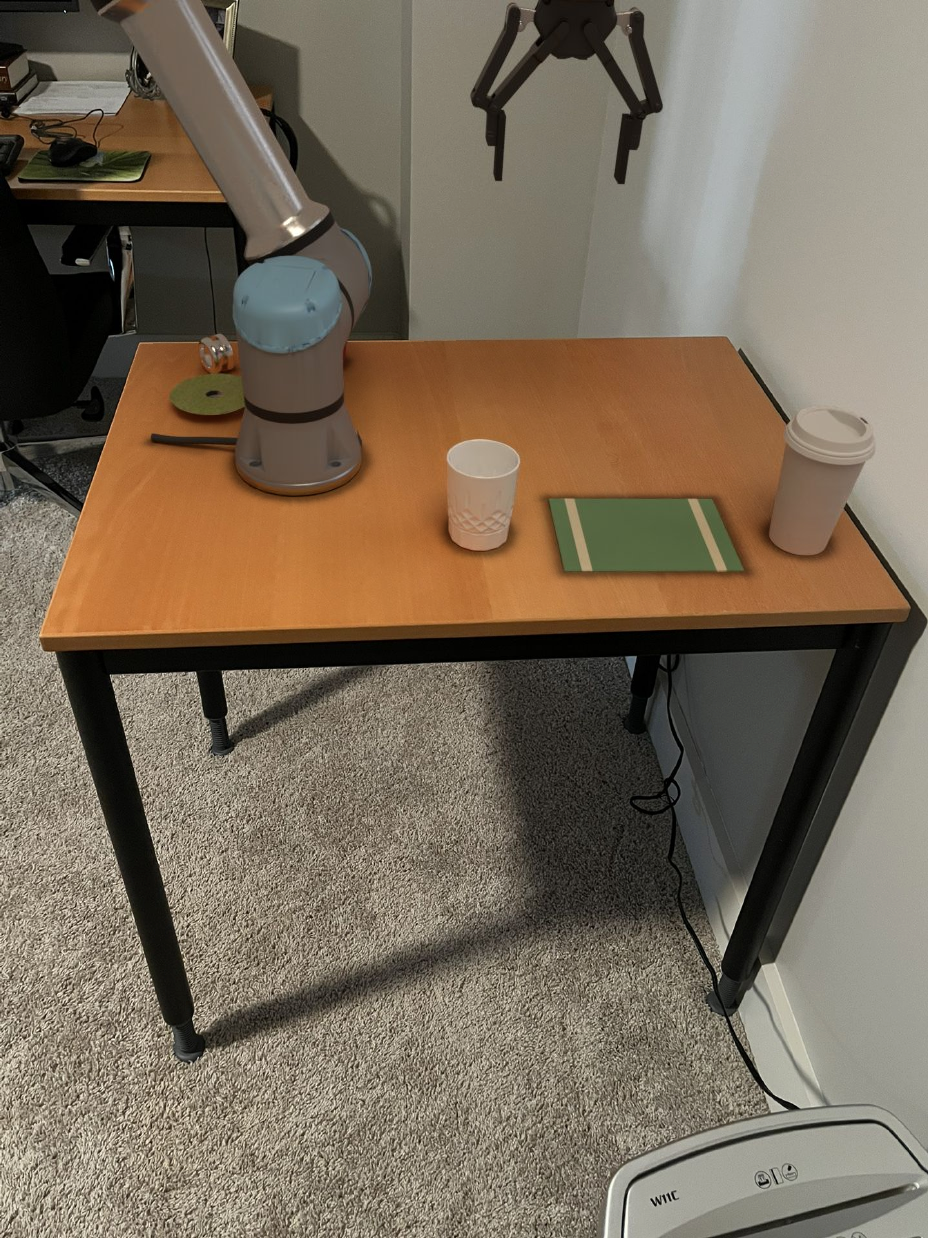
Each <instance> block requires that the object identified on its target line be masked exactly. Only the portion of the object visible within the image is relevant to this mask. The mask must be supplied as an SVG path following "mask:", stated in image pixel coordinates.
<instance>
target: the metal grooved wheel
mask: <svg viewBox="0 0 928 1238" xmlns="http://www.w3.org/2000/svg"><path fill="white" fill-rule="evenodd" d="M197 351H198V357H199V359H200V362H201V364H202V366H203V367H204V369H205V370H206V371H207V372H208V373H209V374H214V373H217V374H220V373H221V371H222V372H227V371H229V370H230V371H231V370H232V369H233V368H234V367H235V355H234V352H233V348H232V346H231V344H230V342H229V340H228V339H227V338H226V337H225V335H223V334H222V333H215V334H213V335H211V336H210V337H208V336H206V337H203V338H201V339H200V340H199V341H198V346H197Z"/></svg>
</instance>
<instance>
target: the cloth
mask: <svg viewBox="0 0 928 1238" xmlns="http://www.w3.org/2000/svg"><path fill="white" fill-rule="evenodd" d="M548 504H549V510H550V513H551V518H552V521H553V522H552V523H553V527H554V532H555V537H556V541H557V545H558V549H559V554H560V559H561V563H562V568H563V572H564V573H675V572H676V573H698V572H699V573H705V572H706V573H712V572H713V573H715V572H716V573H717V572H719V573H723V572H724V573H725V572H726V573H727V572H729V573H730V572H732V573H733V572H734V573H736V572H737V573H739V572H742V573H743V572H744V571H745V570H744V567H743V564H742V562H741V560H740V558H739V555H738V554H737V551H736V549H735V547H734V544H733V542H732V540H731V537H730V535H729V533H728V531H727V529H726V526H725V525H724V522H723V520H722V517H721V515H720V513H719V510H718V509H717V506H716V504H715V501H714V499H713V498H548Z"/></svg>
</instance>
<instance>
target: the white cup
mask: <svg viewBox="0 0 928 1238" xmlns="http://www.w3.org/2000/svg"><path fill="white" fill-rule="evenodd" d="M520 466H521V458H520V455H519V453H518V452H517V450H515V449H514V448H513V447H512V446H510V445H508V444H505V443H503V442H501V441H498V440H493V439H487V438H486V439H485V438H477V439H476V438H475V439H469V440H464V441H461V442H458V443H457V444H454V445H453V446H451V448H449V450H448V451H447V453H446V499H447V516H448V533H449V537H450V538H451V541H453V542H454V543H455V544H456V545H458V546H459V547H461V548H464V549H467V550H471V551H479V552H481V551H483V552H484V551H487V552H488V551H490V550H494V549H497V548H499V547H501V546H502V545H504V543H506V542H507V539H508V536H509V532H510V525H511V520H512V518H513V512H514V511H513V510H514V507H515V506H514V505H515V499H516V494H517V485H518V479H519V473H520Z"/></svg>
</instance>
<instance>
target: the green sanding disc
mask: <svg viewBox="0 0 928 1238" xmlns="http://www.w3.org/2000/svg"><path fill="white" fill-rule="evenodd" d="M169 400H170V402H171V404H172V405H173V406H175V408H177V409H179V410H181V411H184V412H187V413H189V414H196V415H198V416H199V415H201V416H202V415H203V416H215V415H226V414H230V413H232V412H237V411H238V410H241V409H243V408H245V402H244V393H243V386H242V377H241V375H235V374H230V373H228V374H227V373H222V372H220V373H214V374H212V373H207V374H201V375H195V376H193V377H188V378H187V379H184V380H182V381H180V382H179V383H177V384H176V385H175V386H173V388H172V389H171V390H170V393H169Z"/></svg>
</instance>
